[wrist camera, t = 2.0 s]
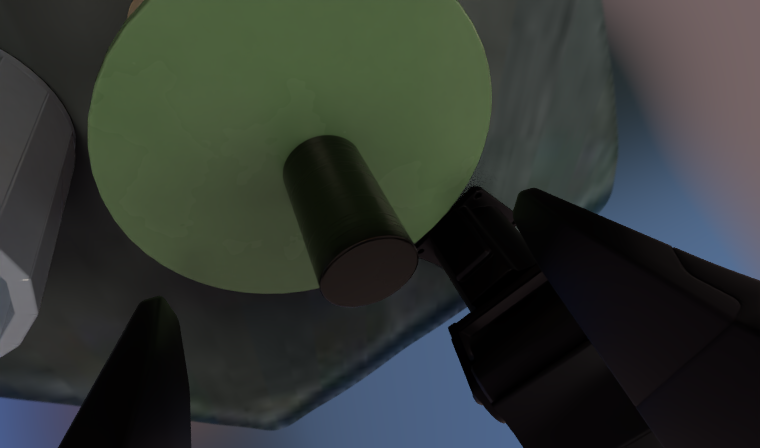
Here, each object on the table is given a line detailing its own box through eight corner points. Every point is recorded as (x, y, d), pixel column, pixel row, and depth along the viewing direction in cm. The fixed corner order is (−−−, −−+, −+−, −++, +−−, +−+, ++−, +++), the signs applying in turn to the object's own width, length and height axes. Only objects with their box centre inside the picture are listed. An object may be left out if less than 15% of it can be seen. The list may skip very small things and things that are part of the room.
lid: (506, -93, 10) (692, -45, 7) (453, 226, 18) (523, 324, 15) (-37, -44, 7) (-220, 84, 4) (188, 306, 15) (196, 449, 12)
